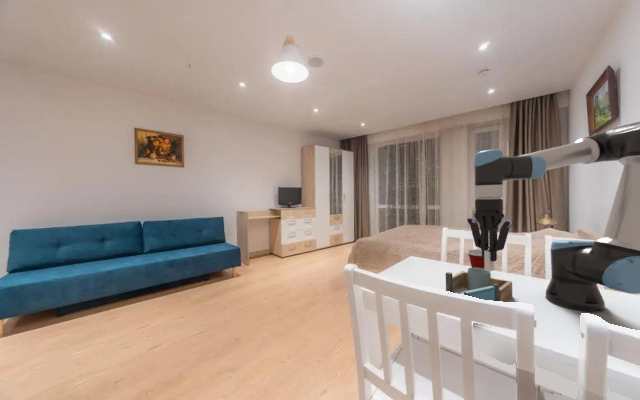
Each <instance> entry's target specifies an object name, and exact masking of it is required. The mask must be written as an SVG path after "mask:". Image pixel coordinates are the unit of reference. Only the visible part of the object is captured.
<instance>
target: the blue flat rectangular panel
mask: <svg viewBox="0 0 640 400" xmlns="http://www.w3.org/2000/svg"><path fill="white" fill-rule="evenodd" d="M464 295H468V296H472V297H476V298H479V299H484V300H493V301H495V287H494V286H488V287H483V288H479V289H474V290H470V289H469V290H465V291H463V296H464Z"/></svg>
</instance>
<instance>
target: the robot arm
mask: <svg viewBox="0 0 640 400" xmlns="http://www.w3.org/2000/svg"><path fill="white" fill-rule="evenodd" d="M614 161H618V162H619V164H621V165H623V170H622V172H621V176H620V179H619V182H618V186H617V189H616V192H615V195H614V199H613V203H612V204H611V205H612V207H611V210H610V213H609V216H608V219H607V223H606V225H605V229H604V232H603V236H602V237H601V238H598V239H595V240H594V241H593V240H572V239H571V240H569V239H568V240H567V239H564V240H554V241H553V242H551V245H550V250H549V251H550V264H551V265H550V266H551V279H550V281H549V283H548V285H547V288H546V290H545V298H546V299H547V300H548V301H550V302H551V303H554V304H556V305H558V306H561V307H565V308H567V309H573V310H577V311H584V312H594V313H595V312H598V313H599V312H603V311H605V310H606V308H605V307H606V302H605V300H604V298H603V296H602V294H601V292H600V289H599V286H598V285H601V286H604V287H606V288H608V289H610V290H614V291H618V292H622V293H625V294H629V295H630V294H631V295H635V294H636V295H638V294H640V121H637V122H632V123H627V124H624V125H620V126H616V127H613V128H610V129H607V130H604V131H601V132H598V133H595V134H593V135H590V136H586V137H582V138H579V139H577V140H576V141H574V142H572V143H568V144H563V145H560V146H555V147H551V148H545V149H543V150H537V151H534V152H531V153H525V154H522V155H514V156H506V155H505V156H504V153H503V151H502V149H488V150H482V151H478V152H477V153H475V155H474V165H473V167H474V198H475V200H474V209H475V213H474V215H473V216H472V217H471V218H467V219H466V220H467V222H468V224H469V226H470V229H471V233H472V238H473V241H474V245H475V247H476V248H479V249H481V250H482V259H484V269H485V271H490V272H493V271H495V262H496V261H497V259H498V255H497V254H498V253H497V252H499V251H502V250H504V249H505V245H506V243H507V239H508V235H509V231H510V228H511V227H512V226H513V225H514V222H513V221H512V220H509V219H508V218H505V214H504V213H503V211H504V199H502V198H503V197H504V191H503V189H504V187H503V185H504V183H503V182H507V181H518V180H527V181H528V180H536V179H540V178H542V177H543V176H544V175H545V173H546V171H549V170H550V171H551V170H554V169H558V168H564V167H568V166H571V165H577V164H581V165H582V164H583V165H589V164H594V163H602V162H614ZM500 224H501V227H500V230H499V225H500ZM498 231H499V233H498Z"/></svg>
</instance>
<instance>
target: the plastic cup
mask: <svg viewBox="0 0 640 400" xmlns="http://www.w3.org/2000/svg"><path fill="white" fill-rule="evenodd" d="M466 253H467V255H468V257H469V261H470V268H483V269H484V259H482V250H481V248H479V249H468V250H467V251H466Z"/></svg>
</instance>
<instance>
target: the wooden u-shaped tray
mask: <svg viewBox="0 0 640 400" xmlns="http://www.w3.org/2000/svg"><path fill="white" fill-rule="evenodd" d="M464 286H465V287H469V285H468V271H464V270H462V271H459V272H458V273H456V274H454V275H453V272H449V271H447V272H445V292H446V291H450V292H453V293H454V292H455V291H458V290H459V289H461V288H463V287H464ZM491 286H494V287H495V301H503V302H506V303H507V302H509V300H511V298H512V297H513V281H510V280H506V279H501V278H497V277H492V276H491Z"/></svg>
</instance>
